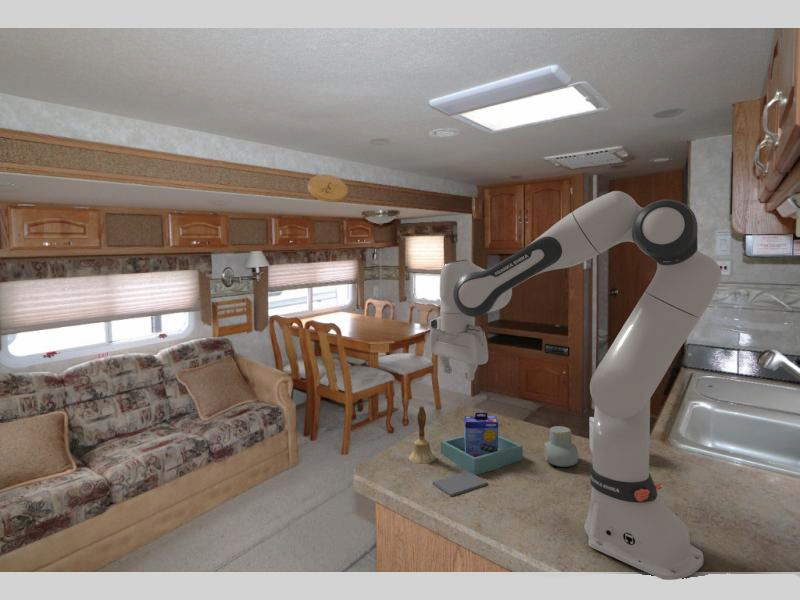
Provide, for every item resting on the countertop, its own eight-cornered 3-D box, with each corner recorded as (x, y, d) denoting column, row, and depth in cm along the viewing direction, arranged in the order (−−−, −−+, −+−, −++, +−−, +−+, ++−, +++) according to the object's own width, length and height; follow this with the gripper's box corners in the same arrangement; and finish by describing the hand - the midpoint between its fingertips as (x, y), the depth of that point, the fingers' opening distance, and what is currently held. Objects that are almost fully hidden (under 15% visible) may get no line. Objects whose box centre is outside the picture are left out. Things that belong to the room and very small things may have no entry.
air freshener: (579, 472, 126) (579, 436, 126) (548, 470, 128) (548, 435, 127) (571, 456, 137) (571, 423, 136) (543, 454, 138) (542, 422, 138)
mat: (487, 484, 120) (487, 482, 120) (450, 496, 114) (450, 494, 114) (468, 473, 127) (468, 471, 127) (432, 484, 121) (432, 481, 121)
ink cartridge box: (465, 462, 134) (464, 413, 134) (463, 454, 140) (463, 408, 139) (499, 462, 134) (498, 413, 133) (496, 454, 139) (495, 407, 139)
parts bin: (522, 460, 134) (522, 445, 134) (474, 475, 125) (474, 459, 125) (486, 443, 148) (486, 429, 148) (440, 455, 139) (440, 441, 139)
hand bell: (414, 452, 143) (413, 401, 142) (439, 456, 139) (438, 404, 138) (403, 462, 135) (402, 409, 134) (430, 467, 132) (429, 412, 131)
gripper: (494, 326, 110) (494, 382, 111) (444, 319, 128) (445, 368, 129) (473, 328, 107) (474, 386, 108) (425, 321, 125) (426, 371, 126)
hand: (458, 376), depth 119 cm, fingers open, 8 cm apart
